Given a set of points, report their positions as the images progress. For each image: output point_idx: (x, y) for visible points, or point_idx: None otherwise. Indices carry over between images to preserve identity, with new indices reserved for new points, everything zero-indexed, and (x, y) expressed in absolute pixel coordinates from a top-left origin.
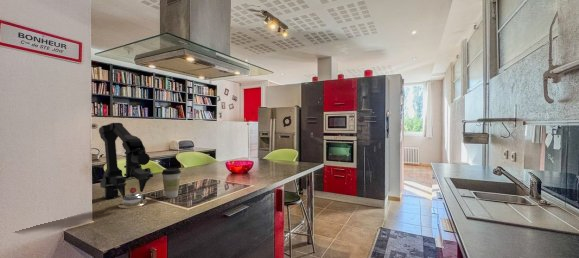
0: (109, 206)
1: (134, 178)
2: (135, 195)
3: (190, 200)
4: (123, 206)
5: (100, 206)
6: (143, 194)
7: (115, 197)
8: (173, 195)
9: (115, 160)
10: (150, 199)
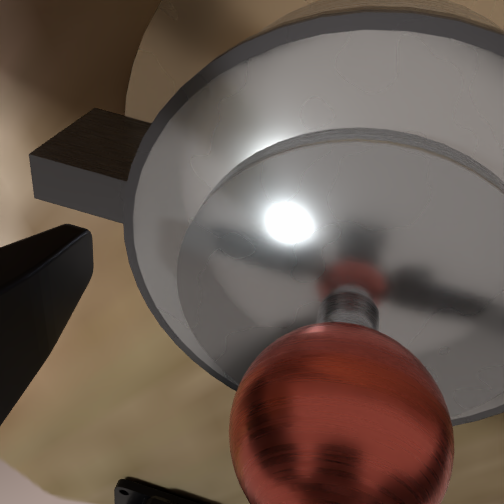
0: (494, 424)
1: None
2: (427, 197)
3: None
4: None
5: (489, 496)
6: (74, 184)
7: (177, 499)
8: None
9: None
10: (14, 61)
